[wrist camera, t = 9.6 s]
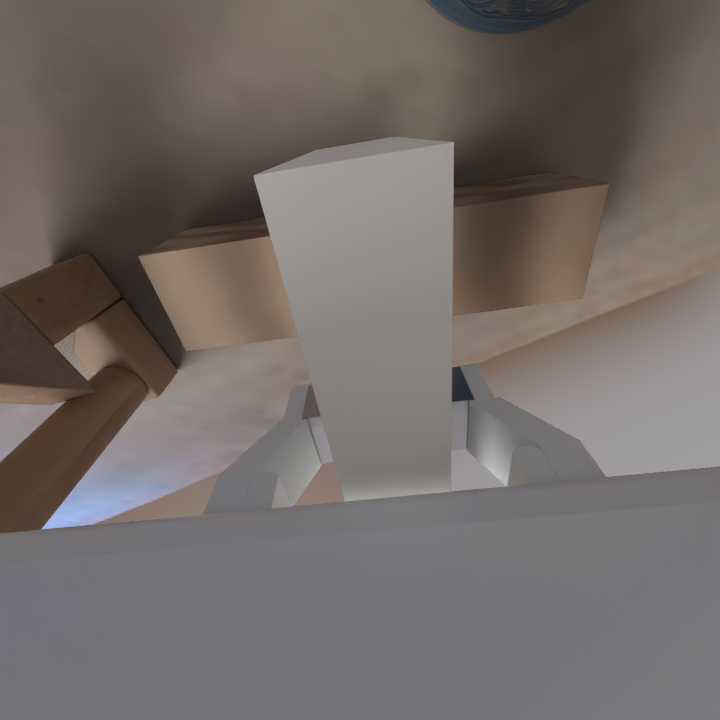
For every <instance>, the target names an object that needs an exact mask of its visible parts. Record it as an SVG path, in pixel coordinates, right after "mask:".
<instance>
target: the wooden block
mask: <svg viewBox="0 0 720 720" xmlns="http://www.w3.org/2000/svg"><path fill="white" fill-rule="evenodd" d="M120 297H121V295H120V293H119V291H118V290H117V289H116V287H115V286H114V285H113V283H112V282H111V281H110V279H109V278H108V277H107V276H106V274H105V273H104V272H103V270H102V269H101V268H100V266H99V265H98V264H97V262H96V261H95V260H94V258H93V257H92V256H91V255H89V254H82V255H79V256H76V257H74V258H71V259H68V260H66V261H63V262H60V263H58V264H55V265H52V266H50V267H47V268H45V269H43V270H41V271H38V272H36V273H34V274H31V275H29V276H27V277H24V278H22V279H20V280H18V281H15V282H13V283H11V284H8V285H6V286H4V287H1V288H0V403H8V404H35V405H53V404H57V403H60V402H64V401H66V402H65V403H64V404H63V405H62V406H61V407H59V408H58V409H57V410H56V411H55V412H54V413H53V414H52V415H51V416H50V417H49V418H48V419H46V420H45V421H44V422H43V423H42V424H41V425H40V426H39V427H38V428H37V429H36V430H35V431H34V432H32V433H31V434H30V435H29V436H28V437H27V438H26V439H25V440H24V441H23V442H22V443H21V444H19V445H18V446H17V447H16V448H15V449H14V450H13V451H12V452H11V453H10V454H9V455H8V456H7V457H5V458H4V459H3V460H2V461H1V462H0V533H10V532H21V531H32V530H41V529H42V528H43V526H44V525H45V524H46V523H47V521H48V520H49V519H50V518H51V516H52V515H53V514H54V512H55V511H56V510H57V509H58V507H59V506H60V505H61V504H62V502H63V501H64V500H65V499H66V497H67V496H68V495H69V494H70V492H71V491H72V490H73V489H74V487H75V486H76V485H77V483H78V482H79V481H80V480H81V478H82V477H83V476H84V475H85V473H86V472H87V471H88V470H89V468H90V467H91V466H92V465H93V463H94V462H95V461H96V460H97V458H98V457H99V456H100V454H101V453H102V452H103V451H104V449H105V448H106V447H107V446H108V444H109V443H110V442H111V441H112V439H113V438H114V437H115V436H116V434H117V433H118V432H119V431H120V429H121V428H122V427H123V425H124V424H125V423H126V422H127V420H128V419H129V418H130V417H131V415H132V414H133V413H134V412H135V410H136V409H137V408H138V407H139V405H140V404H141V403H142V402H143V401H145V400H148V399H152V398H155V397H158V396H160V395H161V394H162V392H163V391H164V390H165V388H166V387H167V386H168V384H169V383H170V381H171V380H172V379H173V377H174V376H175V375H176V373H177V368H176V367H175V366H174V364H173V363H172V362H171V361H170V359H169V358H168V357H167V355H166V354H165V353H164V351H163V350H162V349H161V347H160V346H159V345H158V343H157V342H156V341H155V339H154V338H153V337H152V335H151V334H150V333H149V332H148V330H147V329H146V328H145V326H144V325H143V324H142V322H141V321H140V320H139V318H138V317H137V316H136V314H135V313H134V312H133V310H132V309H131V308H130V307H129V305H128V304H127V303H126V301H124V300H119V299H120ZM72 332H74V344H73V354H74V355H75V357H76V358H77V359H78V360H79V361H80V362H81V363H82V364H83V365H84V366H85V367H86V368H87V369H88V370H89V372H90V373H91V374H92V375H93V377H92V378H91V379H90V380H89V381H87V380H86V379H85V378H84V377H83V376H82V375H81V374H80V373H79V372H78V371H77V370H76V369H75V368H74V367H73V366H72V365H71V364H70V362H69V361H68V360H67V359H66V358H65V357H64V356H63V355H62V354H61V353H60V352H59V351H58V350H57V349H56V348H55V347H54V346H53V345H55V344H56V343H58V342H59V341H61V340H62V339H64V338H65V337H66V336H68V335H69V334H71V333H72Z"/></svg>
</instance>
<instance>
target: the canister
mask: <svg viewBox="0 0 720 720" xmlns="http://www.w3.org/2000/svg"><path fill="white" fill-rule="evenodd" d="M426 1H427V2H428V3H429V4H430V5H431V6H432V7H433V8H434V9H435V10H436V11H437V12H438V13H440V14H441V15H442V16H444V17H445V18H446V19H448V20H450V21H451V22H453V23H455V24H457V25H459V26H462V27H464V28H467V29H470V30H473V31H478V32H485V33H493V34H510V33H518V32H523V31H527V30H531V29H534V28H537V27H540V26H543V25H545V24H547V23H550V22H552V21H554V20H556V19H558V18H559V17H561V16H563V15H565V14H567V13H569V12H571V11H572V10H574V9H576V8H577V7H579V6H580V5H582V4H583V3H585V2H586V1H588V0H426Z"/></svg>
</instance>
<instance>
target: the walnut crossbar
mask: <svg viewBox="0 0 720 720" xmlns="http://www.w3.org/2000/svg"><path fill="white" fill-rule="evenodd" d="M608 188H609V183H604V182H599V181H593V180H588V179H583V178H578V177H573V176H568V175H563V174H558V173H552V172H547V173H540V174H534V175H528V176H522V177H515V178H509V179H503V180H496V181H490V182H484V183H477V184H471V185H465V186H458V187H454V195H453V307H452V316H456V315H463V314H471V313H478V312H486V311H493V310H501V309H508V308H516V307H523V306H531V305H538V304H546V303H553V302H561V301H568V300H576V299H582V298H583V294H584V290H585V285H586V281H587V277H588V273H589V268H590V264H591V260H592V256H593V251H594V247H595V243H596V239H597V235H598V230H599V226H600V222H601V218H602V213H603V209H604V205H605V201H606V196H607V192H608ZM138 257H139V259H140V261H141V263H142V265H143V267H144V269H145V271H146V273H147V275H148V277H149V279H150V281H151V283H152V285H153V287H154V289H155V291H156V293H157V295H158V297H159V299H160V301H161V303H162V305H163V307H164V309H165V311H166V313H167V315H168V317H169V319H170V321H171V323H172V325H173V327H174V329H175V331H176V332H177V334H178V336H179V338H180V340H181V342H182V344H183V346H184V348H185V350H186V351H193V350H200V349H208V348H215V347H223V346H230V345H238V344H245V343H253V342H260V341H268V340H275V339H283V338H290V337H298V333H297V330H296V326H295V323H294V319H293V315H292V312H291V308H290V305H289V301H288V298H287V294H286V290H285V287H284V283H283V280H282V276H281V273H280V269H279V266H278V262H277V258H276V255H275V251H274V248H273V244H272V241H271V237H270V233H269V230H268V226H267V223H266V219H265V217H263V218H257V219H250V220H244V221H238V222H231V223H225V224H219V225H212V226H206V227H200V228H193V229H187V230H184V231H182V232H180V233H179V234H177V235H175V236H173V237H172V238H170V239H168V240H166V241H164V242H163V243H161V244H159V245H157V246H156V247H154V248H152V249H150V250H149V251H147V252H145V253H143V254H142V255H140V256H138Z"/></svg>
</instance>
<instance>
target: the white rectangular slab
mask: <svg viewBox="0 0 720 720" xmlns="http://www.w3.org/2000/svg"><path fill="white" fill-rule="evenodd" d="M253 176H254V180H255V183H256V187H257V191H258V194H259V198H260V201H261V205H262V208H263V212H264V216H265V219H266V223H267V226H268V230H269V233H270V237H271V241H272V244H273V248H274V251H275V255H276V258H277V262H278V266H279V269H280V273H281V276H282V280H283V283H284V287H285V290H286V294H287V298H288V301H289V305H290V308H291V312H292V315H293V319H294V323H295V326H296V330H297V333H298V337H299V340H300V344H301V348H302V351H303V355H304V358H305V362H306V365H307V369H308V373H309V376H310V380H311V383H312V387H313V390H314V394H315V397H316V401H317V405H318V408H319V412H320V415H321V419H322V422H323V426H324V430H325V433H326V437H327V440H328V444H329V447H330V451H331V455H332V458H333V462H334V465H335V469H336V472H337V476H338V479H339V483H340V487H341V490H342V493H343V497H344V500H345V501H355V500H366V499H376V498H387V497H398V496H409V495H419V494H430V493H441V492H451V419H452V307H453V195H454V142H448V141H437V140H425V139H414V138H403V137H389V138H383V139H377V140H371V141H365V142H360V143H354V144H348V145H342V146H336V147H330V148H324V149H318V150H315V151H312V152H310V153H307V154H305V155H302V156H300V157H297V158H295V159H293V160H290V161H288V162H285V163H283V164H280V165H278V166H275V167H273V168H270V169H268V170H266V171H263V172H261V173H258V174H256V175H253Z"/></svg>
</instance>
